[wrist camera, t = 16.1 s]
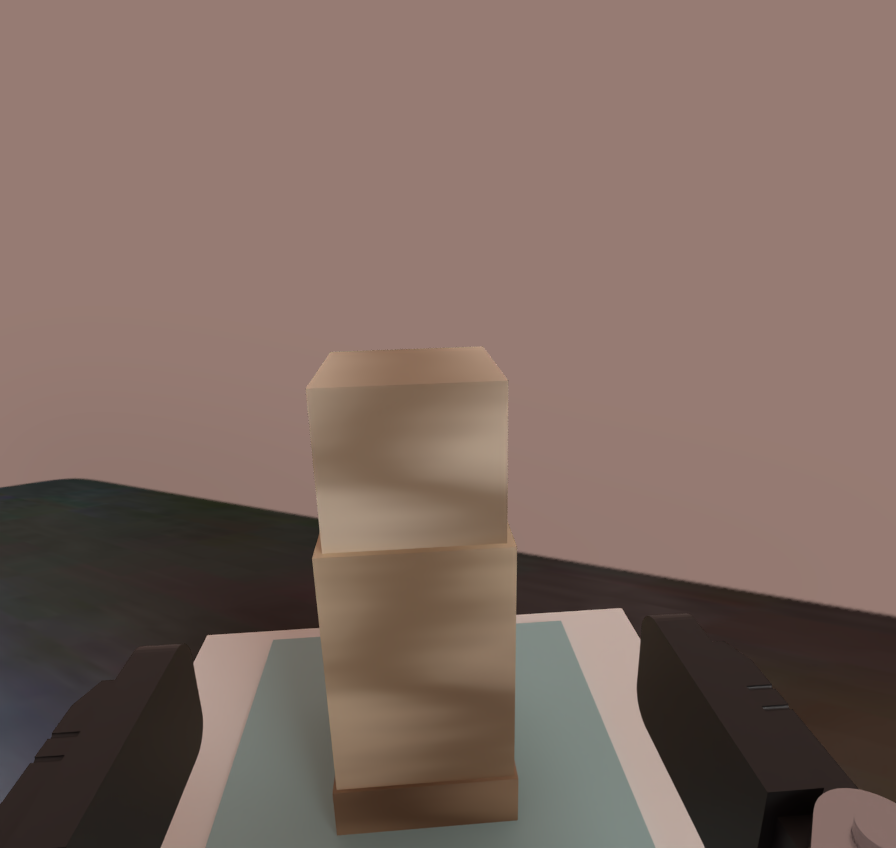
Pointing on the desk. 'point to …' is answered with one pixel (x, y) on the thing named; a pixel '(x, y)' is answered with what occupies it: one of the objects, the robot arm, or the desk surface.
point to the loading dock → (487, 844)
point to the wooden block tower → (416, 586)
